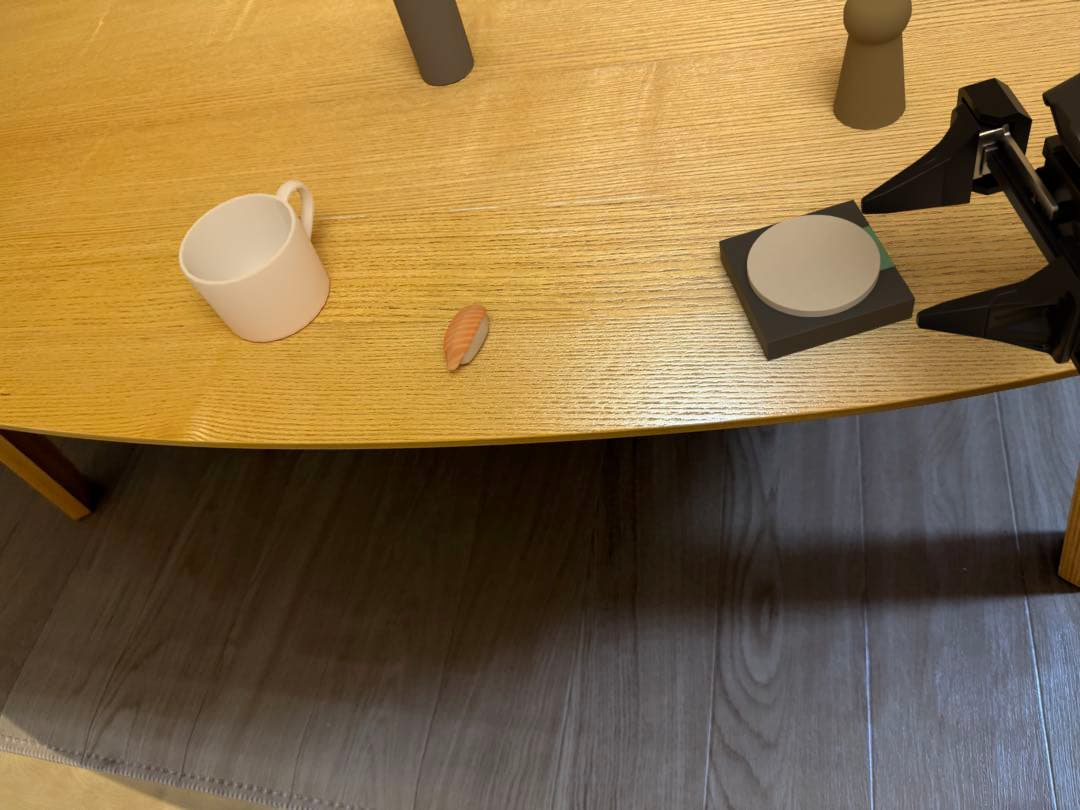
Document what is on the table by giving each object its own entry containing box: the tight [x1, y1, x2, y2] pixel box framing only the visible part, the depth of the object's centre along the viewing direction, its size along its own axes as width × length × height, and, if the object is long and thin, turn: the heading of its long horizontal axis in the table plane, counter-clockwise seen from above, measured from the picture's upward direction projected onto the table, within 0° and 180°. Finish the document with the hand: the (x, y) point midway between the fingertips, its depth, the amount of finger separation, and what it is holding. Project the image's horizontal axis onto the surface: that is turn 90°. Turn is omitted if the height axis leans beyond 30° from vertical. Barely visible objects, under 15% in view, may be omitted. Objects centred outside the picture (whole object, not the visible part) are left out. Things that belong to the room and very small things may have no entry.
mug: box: [178, 179, 331, 343], centre depth 82 cm, size 13×10×8 cm
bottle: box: [392, 0, 475, 86], centre depth 93 cm, size 6×6×15 cm
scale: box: [718, 198, 916, 362], centre depth 72 cm, size 11×11×3 cm
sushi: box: [443, 303, 489, 371], centre depth 76 cm, size 3×6×3 cm, turn 159°
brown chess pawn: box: [833, 0, 913, 130], centre depth 78 cm, size 6×6×11 cm
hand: (887, 260), depth 54 cm, fingers open, 9 cm apart
